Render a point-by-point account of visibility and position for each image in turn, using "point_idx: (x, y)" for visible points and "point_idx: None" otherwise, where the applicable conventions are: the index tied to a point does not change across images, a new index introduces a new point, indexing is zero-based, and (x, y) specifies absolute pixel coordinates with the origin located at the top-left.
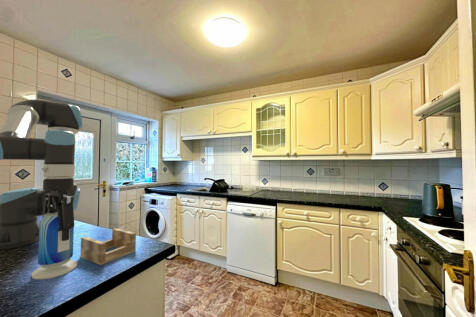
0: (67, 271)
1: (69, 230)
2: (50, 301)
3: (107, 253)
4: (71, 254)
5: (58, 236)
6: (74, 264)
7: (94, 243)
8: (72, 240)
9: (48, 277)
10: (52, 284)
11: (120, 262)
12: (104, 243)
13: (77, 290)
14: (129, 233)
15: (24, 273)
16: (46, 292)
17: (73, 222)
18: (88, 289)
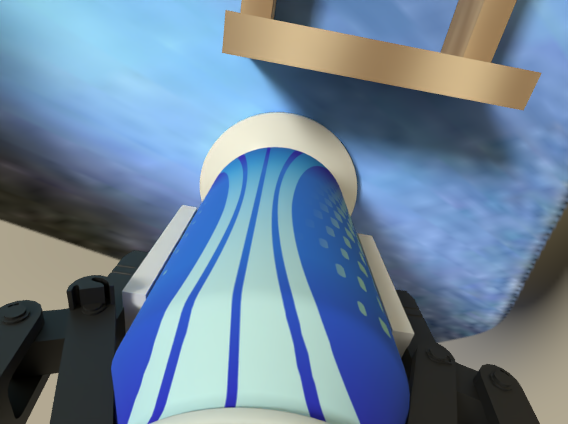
0: (356, 195)
1: (407, 323)
2: (466, 306)
3: (491, 50)
4: (337, 185)
5: None
6: (325, 144)
7: (427, 90)
8: (346, 216)
9: None
10: (381, 256)
11: (547, 24)
12: (535, 85)
13: (505, 255)
14: None
15: None
16: (409, 286)
17: (535, 422)
18: (541, 242)
